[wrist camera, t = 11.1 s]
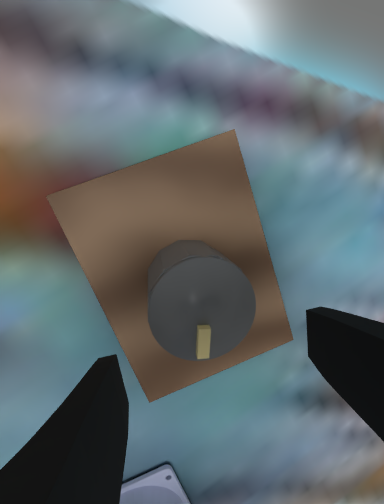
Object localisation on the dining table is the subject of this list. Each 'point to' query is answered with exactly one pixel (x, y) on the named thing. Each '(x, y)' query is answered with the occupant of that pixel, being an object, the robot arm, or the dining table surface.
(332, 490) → the dining table surface
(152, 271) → the cap
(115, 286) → the post board
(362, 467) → the dining table surface
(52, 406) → the dining table surface
